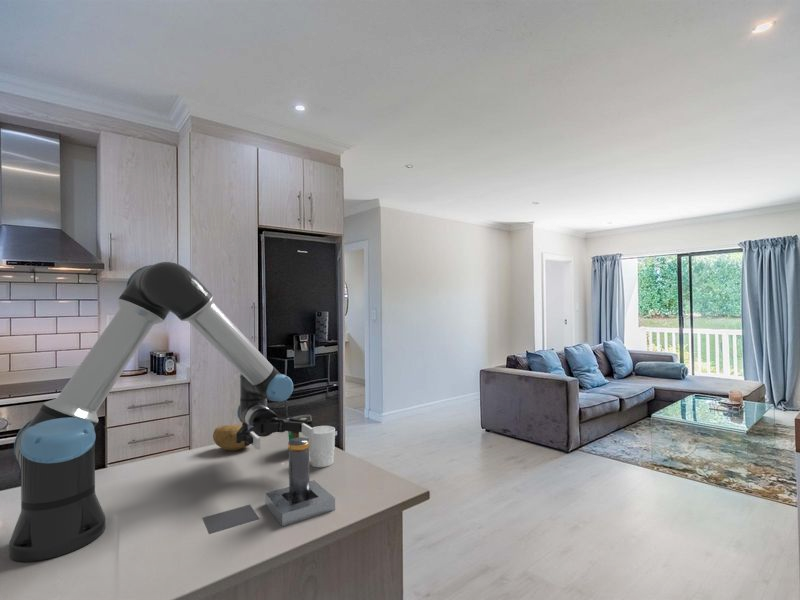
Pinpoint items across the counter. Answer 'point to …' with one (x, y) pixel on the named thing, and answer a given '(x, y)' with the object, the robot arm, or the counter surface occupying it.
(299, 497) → the cylinder
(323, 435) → the white cup
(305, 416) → the food container
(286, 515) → the socket
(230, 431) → the potato
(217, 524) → the mount
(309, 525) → the counter surface
